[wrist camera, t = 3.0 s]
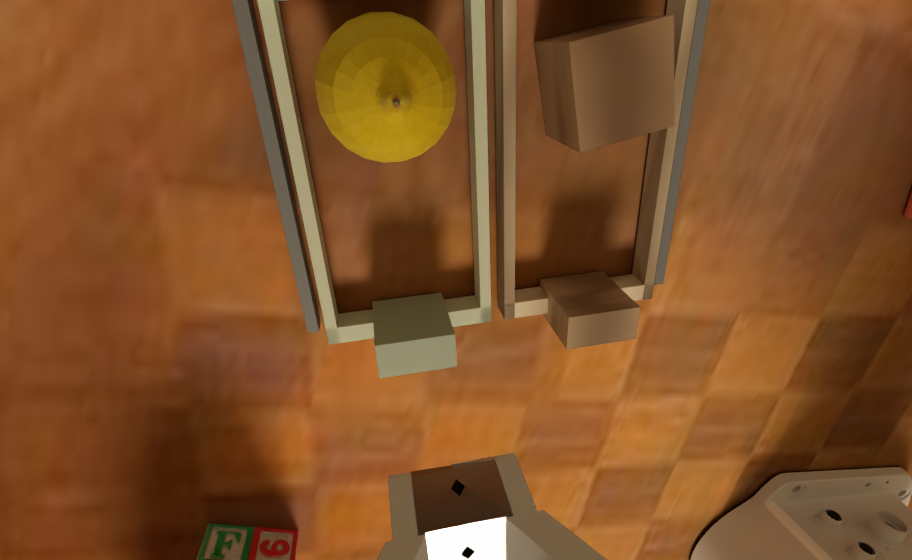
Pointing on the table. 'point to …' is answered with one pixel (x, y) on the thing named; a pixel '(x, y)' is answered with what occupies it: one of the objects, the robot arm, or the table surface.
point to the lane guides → (281, 175)
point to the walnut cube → (608, 81)
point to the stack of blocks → (247, 543)
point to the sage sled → (409, 318)
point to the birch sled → (612, 298)
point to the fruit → (385, 87)
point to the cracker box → (909, 208)
